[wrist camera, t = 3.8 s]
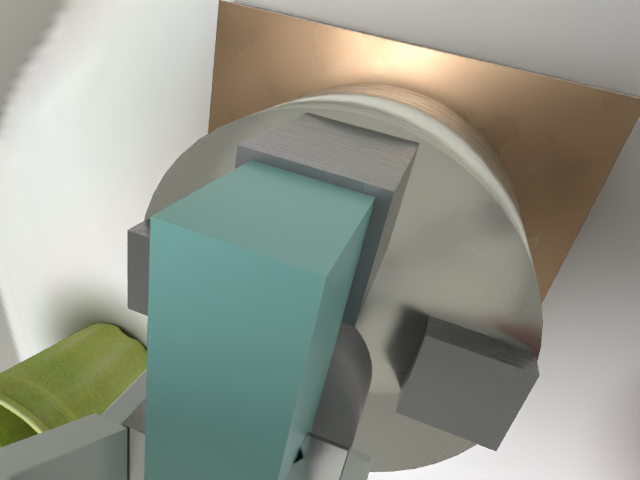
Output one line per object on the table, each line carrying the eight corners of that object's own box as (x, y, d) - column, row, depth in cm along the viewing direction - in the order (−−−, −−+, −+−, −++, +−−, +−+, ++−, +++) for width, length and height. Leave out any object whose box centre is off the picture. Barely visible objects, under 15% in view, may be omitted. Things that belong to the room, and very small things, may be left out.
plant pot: (38, 308, 31) (-101, 395, 24) (140, 288, 28) (13, 384, 20) (100, 414, 34) (-6, 523, 27) (200, 410, 30) (109, 534, 23)
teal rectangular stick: (439, 181, 10) (408, 304, 5) (325, 517, 15) (264, 713, 11) (249, 126, 10) (84, 194, 6) (207, 464, 16) (106, 627, 12)
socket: (636, 96, 16) (922, 207, 6) (477, 408, 24) (479, 705, 13) (233, 2, 19) (-58, -37, 9) (204, 305, 27) (28, 482, 16)
